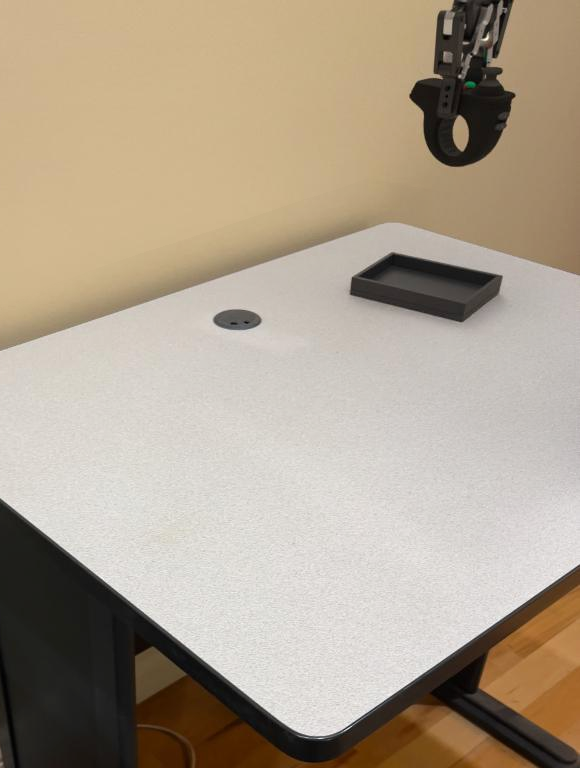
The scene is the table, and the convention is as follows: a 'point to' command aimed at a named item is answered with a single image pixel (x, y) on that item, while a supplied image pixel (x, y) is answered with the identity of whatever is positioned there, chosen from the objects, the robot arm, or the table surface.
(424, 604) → the table surface
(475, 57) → the robot arm
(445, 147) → the controller
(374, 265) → the dock
